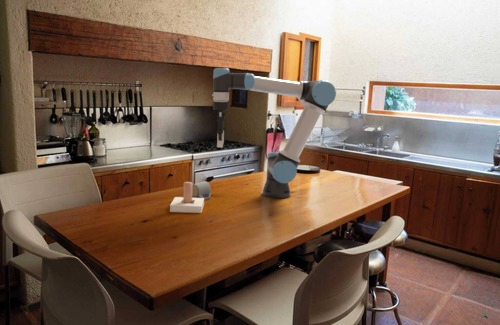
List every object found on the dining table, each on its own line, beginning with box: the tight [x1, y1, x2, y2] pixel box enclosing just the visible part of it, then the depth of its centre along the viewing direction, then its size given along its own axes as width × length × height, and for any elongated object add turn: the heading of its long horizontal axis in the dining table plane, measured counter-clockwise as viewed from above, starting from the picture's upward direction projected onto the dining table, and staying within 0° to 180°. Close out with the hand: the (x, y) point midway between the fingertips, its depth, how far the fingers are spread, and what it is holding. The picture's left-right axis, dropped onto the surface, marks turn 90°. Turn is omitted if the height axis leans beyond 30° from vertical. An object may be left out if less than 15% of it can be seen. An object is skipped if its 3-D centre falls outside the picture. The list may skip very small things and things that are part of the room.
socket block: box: [169, 196, 205, 214], centre depth 191 cm, size 14×14×3 cm
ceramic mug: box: [192, 180, 212, 201], centre depth 209 cm, size 11×8×8 cm
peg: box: [183, 181, 194, 204], centre depth 190 cm, size 4×4×12 cm
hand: (220, 145), depth 200 cm, fingers open, 13 cm apart
